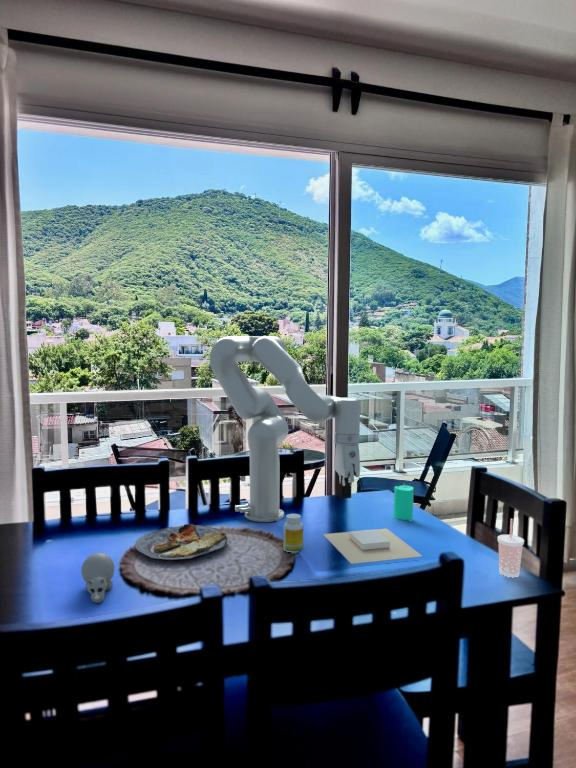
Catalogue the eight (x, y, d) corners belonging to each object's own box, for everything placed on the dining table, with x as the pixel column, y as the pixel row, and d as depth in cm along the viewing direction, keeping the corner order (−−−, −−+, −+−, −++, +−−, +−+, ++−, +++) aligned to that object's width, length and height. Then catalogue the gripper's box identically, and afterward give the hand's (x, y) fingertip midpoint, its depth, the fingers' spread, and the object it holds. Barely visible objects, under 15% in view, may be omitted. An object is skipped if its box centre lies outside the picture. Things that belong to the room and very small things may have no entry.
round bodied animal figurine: (79, 615, 126) (76, 587, 122) (84, 574, 136) (81, 547, 132) (113, 612, 127) (111, 583, 123) (116, 571, 138) (114, 544, 134)
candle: (411, 517, 186) (412, 480, 185) (413, 523, 180) (414, 485, 179) (392, 516, 187) (393, 480, 186) (394, 522, 181) (395, 485, 180)
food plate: (194, 525, 176) (194, 514, 176) (244, 546, 160) (244, 534, 159) (120, 549, 159) (119, 536, 158) (167, 575, 142) (166, 562, 142)
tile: (348, 538, 164) (362, 551, 154) (348, 531, 164) (362, 544, 154) (374, 536, 166) (390, 548, 156) (374, 529, 166) (390, 541, 156)
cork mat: (351, 567, 146) (351, 563, 146) (323, 537, 167) (323, 534, 167) (422, 559, 151) (422, 556, 151) (386, 531, 172) (386, 528, 172)
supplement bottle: (280, 548, 159) (280, 514, 158) (297, 545, 161) (297, 511, 160) (288, 555, 154) (288, 520, 153) (306, 551, 156) (306, 517, 155)
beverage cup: (508, 580, 139) (511, 524, 138) (490, 571, 144) (492, 516, 143) (528, 576, 141) (530, 521, 140) (509, 567, 147) (511, 513, 146)
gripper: (368, 442, 169) (366, 504, 170) (349, 433, 183) (348, 490, 185) (343, 443, 167) (342, 505, 168) (327, 434, 181) (325, 491, 183)
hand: (345, 497), depth 176 cm, fingers closed
